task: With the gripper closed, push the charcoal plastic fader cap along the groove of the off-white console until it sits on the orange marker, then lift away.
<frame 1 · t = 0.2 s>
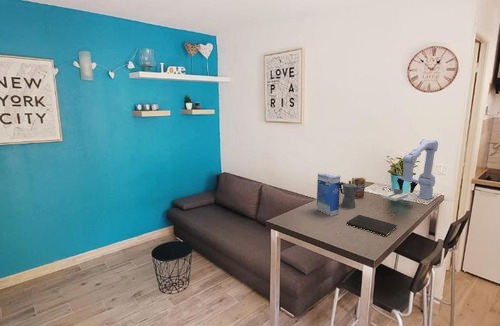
hand: (406, 191, 200), 10 cm above the table, fingers open, 7 cm apart
console: (394, 197, 219), on the table
black spiral notebook: (371, 227, 169), on the table
string lights box: (327, 212, 191), on the table
fader cap: (398, 190, 220), point 4 cm above the table, slide at 0.0 cm
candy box: (357, 197, 218), on the table
coffeepot: (347, 205, 202), on the table
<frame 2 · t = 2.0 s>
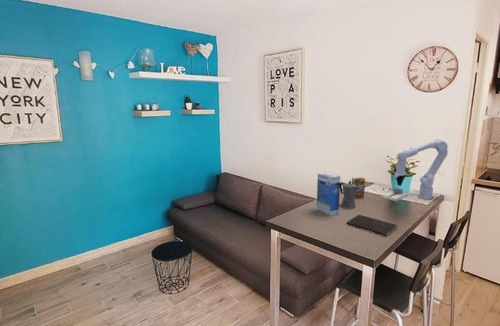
hand: (399, 185, 220), 8 cm above the table, fingers closed
nothing on the table moved.
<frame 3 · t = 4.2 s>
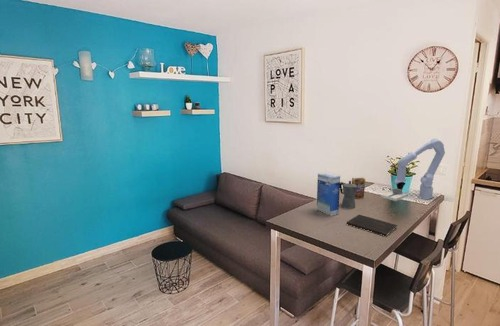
hand: (399, 191, 222), 3 cm above the table, fingers closed
fader cap: (397, 191, 220), point 4 cm above the table, slide at 1.0 cm, touching gripper
everything else where it was.
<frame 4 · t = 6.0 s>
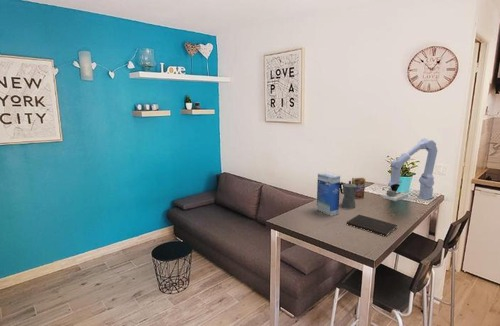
hand: (393, 193, 217), 3 cm above the table, fingers closed
fader cap: (391, 193, 215), point 4 cm above the table, slide at 9.3 cm, touching gripper
everything else where it was.
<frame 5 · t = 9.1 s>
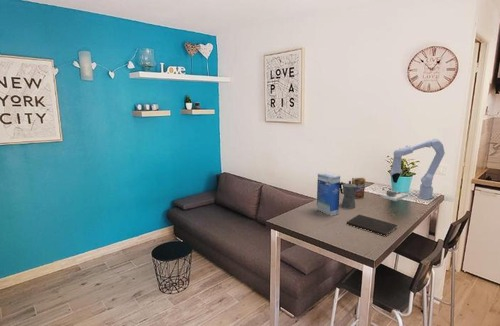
hand: (395, 182, 224), 9 cm above the table, fingers closed
fader cap: (391, 193, 215), point 4 cm above the table, slide at 9.3 cm
everything else where it was.
at the end: fader cap slide at 9.3 cm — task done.
